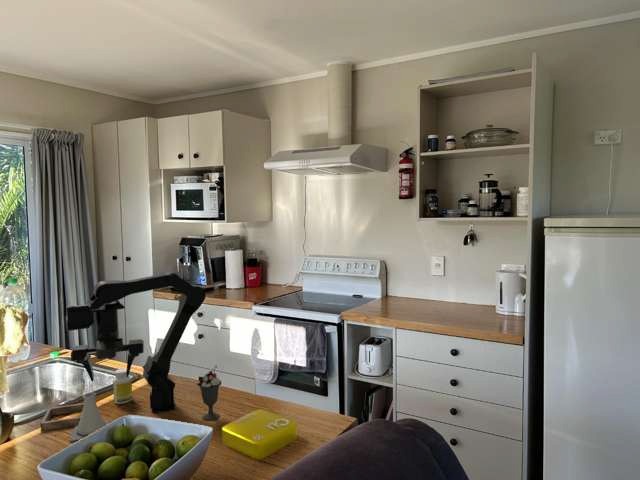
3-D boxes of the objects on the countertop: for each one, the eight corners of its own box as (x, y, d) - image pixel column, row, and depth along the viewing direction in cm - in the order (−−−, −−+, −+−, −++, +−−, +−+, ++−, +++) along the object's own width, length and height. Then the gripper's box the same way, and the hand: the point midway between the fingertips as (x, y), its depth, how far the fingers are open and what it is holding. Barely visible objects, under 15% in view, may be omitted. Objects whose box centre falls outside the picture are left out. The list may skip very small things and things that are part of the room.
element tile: (260, 422, 135) (260, 405, 135) (300, 437, 126) (300, 420, 125) (218, 443, 123) (218, 425, 123) (259, 462, 114) (258, 443, 114)
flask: (89, 422, 135) (87, 388, 134) (111, 424, 133) (109, 390, 133) (70, 435, 128) (68, 398, 127) (94, 437, 126) (91, 400, 126)
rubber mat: (110, 421, 136) (110, 420, 136) (107, 436, 128) (107, 434, 128) (75, 427, 133) (75, 425, 133) (69, 442, 125) (69, 440, 125)
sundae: (227, 416, 138) (225, 366, 137) (207, 424, 133) (205, 372, 132) (214, 409, 143) (212, 361, 141) (194, 417, 138) (192, 367, 136)
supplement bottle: (136, 399, 152) (134, 369, 151) (121, 405, 147) (119, 374, 146) (125, 395, 154) (123, 366, 154) (110, 402, 150) (108, 371, 149)
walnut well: (88, 408, 145) (88, 402, 145) (83, 424, 135) (82, 417, 135) (49, 414, 142) (48, 408, 142) (40, 430, 132) (40, 423, 131)
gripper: (65, 336, 125) (69, 394, 126) (141, 329, 131) (144, 384, 132) (72, 326, 135) (76, 379, 137) (142, 319, 141) (145, 371, 143)
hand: (110, 378), depth 137 cm, fingers open, 9 cm apart
